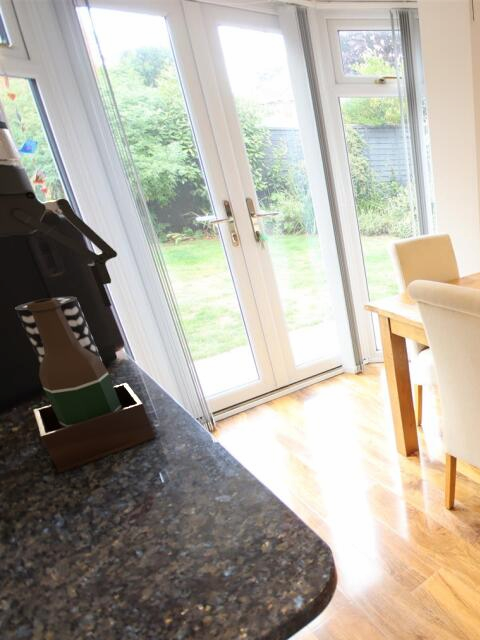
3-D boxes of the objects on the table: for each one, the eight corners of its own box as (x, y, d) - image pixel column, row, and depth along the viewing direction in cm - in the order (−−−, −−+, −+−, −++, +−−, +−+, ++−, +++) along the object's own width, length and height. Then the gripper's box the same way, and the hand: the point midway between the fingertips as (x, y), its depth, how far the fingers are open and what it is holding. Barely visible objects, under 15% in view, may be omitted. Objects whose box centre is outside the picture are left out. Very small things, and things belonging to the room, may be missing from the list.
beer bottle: (69, 457, 72) (0, 312, 63) (72, 437, 78) (9, 300, 69) (131, 438, 76) (75, 300, 68) (130, 420, 82) (78, 290, 73)
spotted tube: (59, 399, 92) (15, 303, 85) (111, 385, 97) (75, 294, 90) (60, 413, 86) (14, 312, 79) (116, 397, 92) (78, 301, 84)
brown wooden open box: (49, 444, 77) (33, 409, 74) (138, 414, 85) (126, 382, 83) (59, 473, 69) (40, 436, 67) (155, 437, 78) (142, 403, 75)
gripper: (-182, 168, 50) (-81, 347, 58) (107, 160, 67) (155, 300, 75) (-169, 169, 55) (-77, 335, 63) (98, 162, 72) (144, 293, 80)
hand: (49, 316), depth 69 cm, fingers open, 13 cm apart
